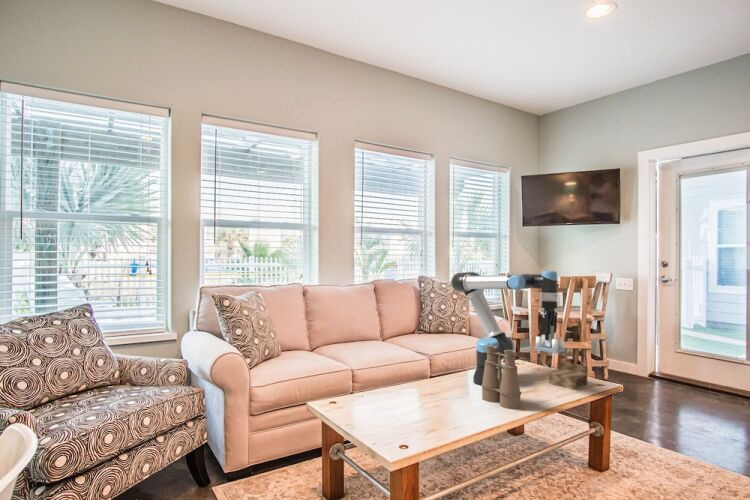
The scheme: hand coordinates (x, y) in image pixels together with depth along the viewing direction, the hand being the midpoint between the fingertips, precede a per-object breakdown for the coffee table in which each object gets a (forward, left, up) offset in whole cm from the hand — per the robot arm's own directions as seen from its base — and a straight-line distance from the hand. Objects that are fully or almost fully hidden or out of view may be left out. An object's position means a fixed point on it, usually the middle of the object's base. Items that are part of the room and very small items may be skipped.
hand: (549, 345), depth 217 cm
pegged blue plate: (0, 0, -2) cm, 2 cm away
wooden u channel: (+2, +17, -23) cm, 28 cm away
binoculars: (-6, -36, -23) cm, 43 cm away
